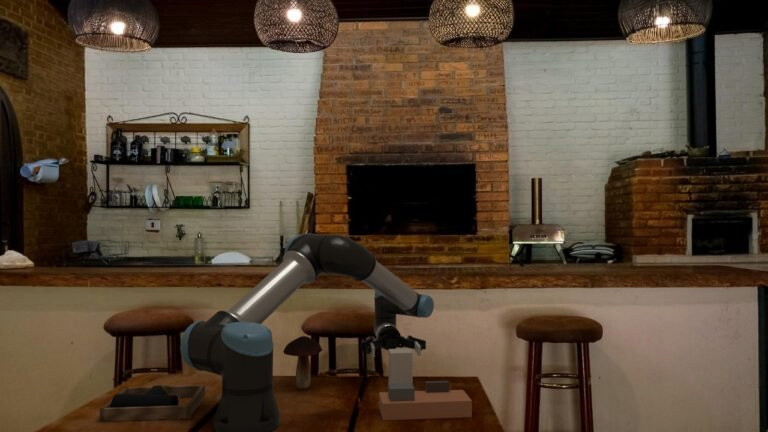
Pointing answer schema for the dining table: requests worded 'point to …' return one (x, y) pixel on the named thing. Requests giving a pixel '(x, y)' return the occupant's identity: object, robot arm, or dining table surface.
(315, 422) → the dining table surface
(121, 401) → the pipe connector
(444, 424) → the dining table surface
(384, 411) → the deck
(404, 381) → the tall grey brick
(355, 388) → the dining table surface
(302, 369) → the decorative mushroom
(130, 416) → the frame
